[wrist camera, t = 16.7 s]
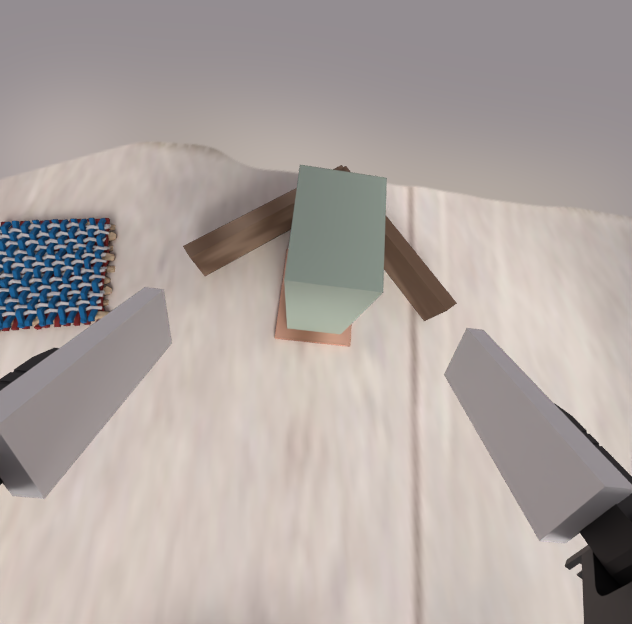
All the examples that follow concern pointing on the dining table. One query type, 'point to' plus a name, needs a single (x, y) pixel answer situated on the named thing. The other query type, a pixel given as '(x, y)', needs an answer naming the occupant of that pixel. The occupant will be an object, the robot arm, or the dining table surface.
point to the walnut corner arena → (267, 226)
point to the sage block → (334, 249)
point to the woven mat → (54, 272)
